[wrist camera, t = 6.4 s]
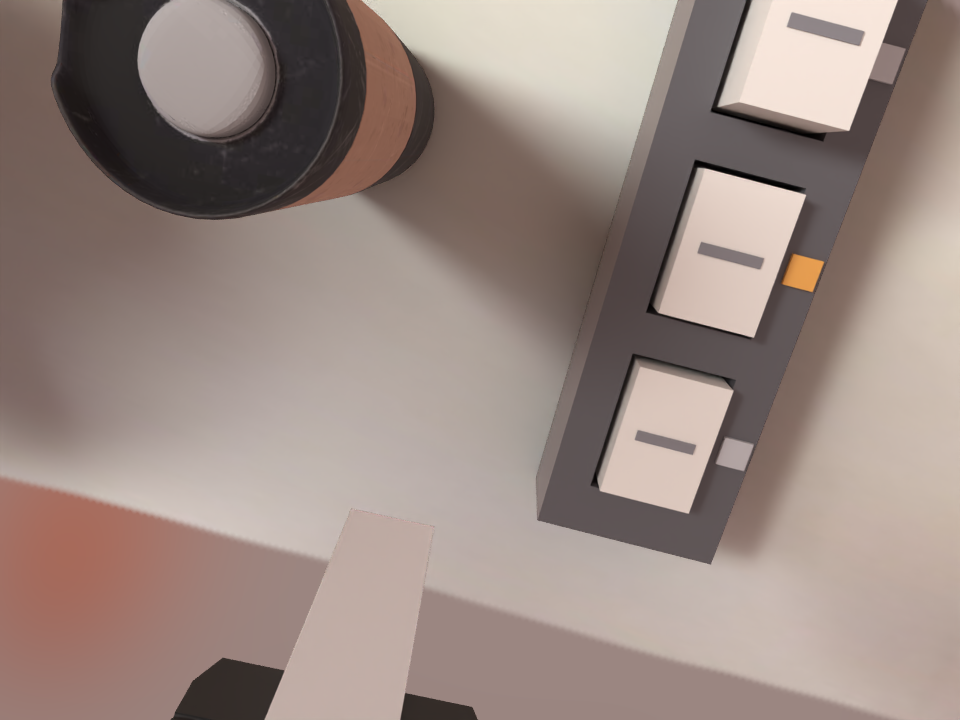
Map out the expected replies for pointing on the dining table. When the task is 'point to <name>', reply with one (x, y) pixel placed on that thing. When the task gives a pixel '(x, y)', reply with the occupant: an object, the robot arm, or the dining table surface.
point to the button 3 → (802, 62)
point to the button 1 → (662, 433)
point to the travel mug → (240, 100)
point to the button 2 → (725, 251)
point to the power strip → (638, 257)
